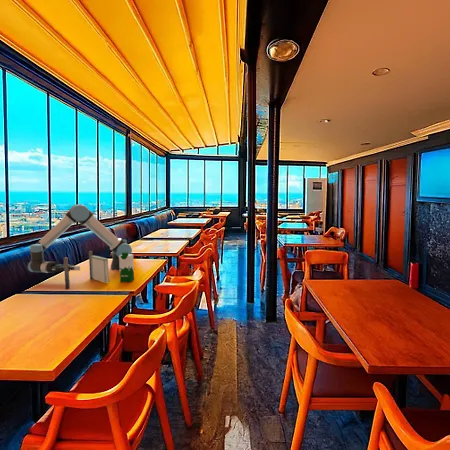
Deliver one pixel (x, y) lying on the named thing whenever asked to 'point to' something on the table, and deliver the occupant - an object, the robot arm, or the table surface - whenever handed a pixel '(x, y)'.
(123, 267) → the milk carton
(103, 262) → the beige framed panel
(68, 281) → the posts
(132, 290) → the table surface
